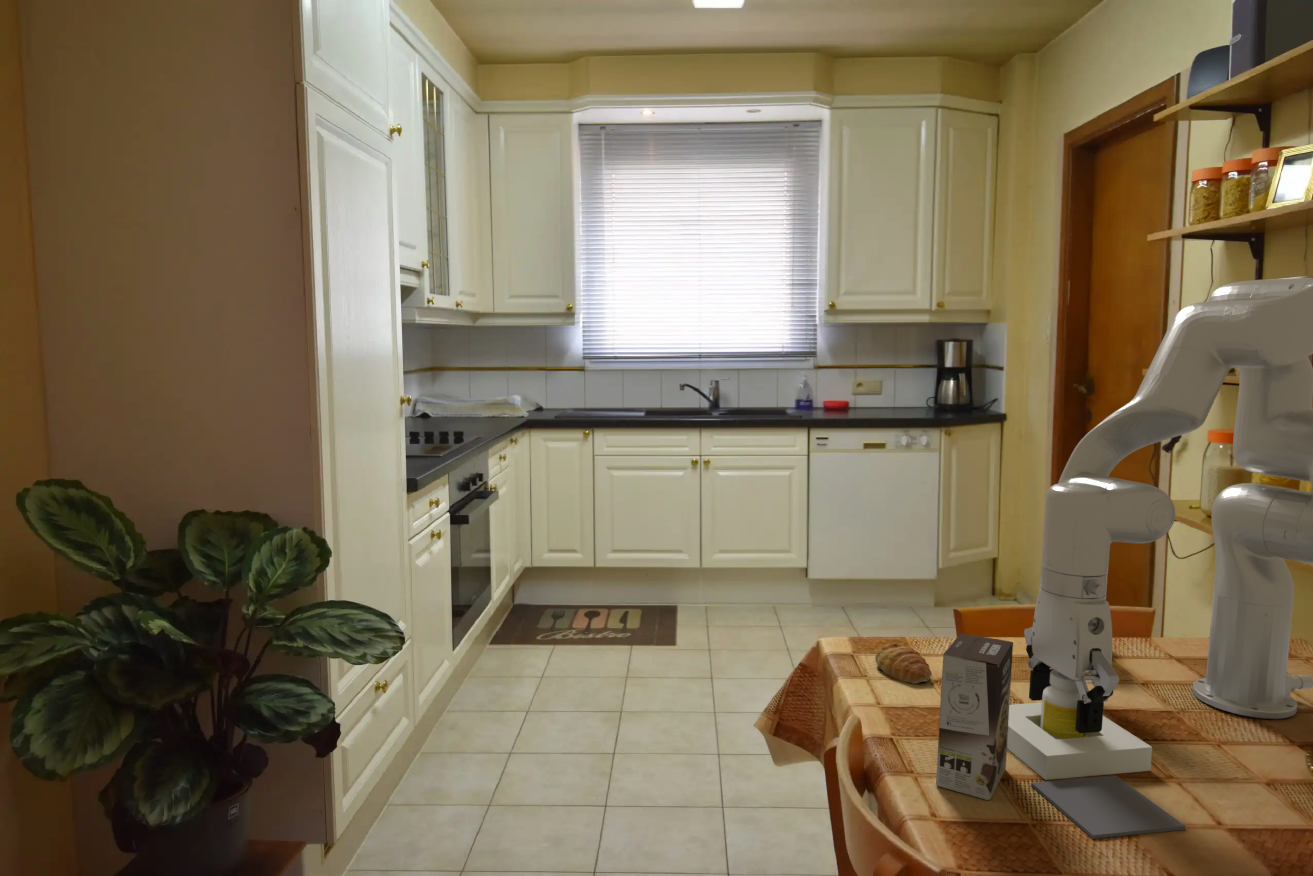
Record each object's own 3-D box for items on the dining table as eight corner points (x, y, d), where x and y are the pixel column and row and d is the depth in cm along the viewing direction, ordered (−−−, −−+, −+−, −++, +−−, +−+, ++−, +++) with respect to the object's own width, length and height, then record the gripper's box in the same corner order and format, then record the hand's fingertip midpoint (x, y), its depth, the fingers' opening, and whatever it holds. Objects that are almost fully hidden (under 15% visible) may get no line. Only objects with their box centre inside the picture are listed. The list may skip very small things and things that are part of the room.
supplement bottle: (1090, 760, 110) (1096, 684, 109) (1044, 756, 111) (1049, 681, 110) (1079, 741, 116) (1084, 668, 114) (1034, 737, 117) (1039, 665, 115)
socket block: (1076, 720, 121) (1078, 699, 121) (1150, 770, 108) (1152, 747, 107) (982, 728, 119) (983, 706, 119) (1045, 780, 105) (1046, 756, 105)
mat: (1115, 778, 106) (1115, 775, 106) (1185, 829, 95) (1185, 825, 95) (1031, 786, 104) (1031, 782, 104) (1092, 838, 93) (1093, 835, 93)
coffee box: (992, 802, 100) (999, 664, 98) (934, 786, 104) (940, 653, 102) (1008, 769, 108) (1015, 640, 106) (953, 755, 111) (960, 630, 109)
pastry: (942, 683, 135) (943, 659, 134) (905, 689, 132) (906, 664, 132) (905, 661, 143) (906, 638, 143) (869, 666, 141) (870, 643, 141)
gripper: (1149, 602, 103) (1138, 744, 105) (1057, 564, 120) (1049, 686, 122) (1091, 605, 102) (1080, 748, 104) (1006, 566, 119) (998, 689, 121)
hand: (1063, 714), depth 113 cm, fingers open, 9 cm apart
